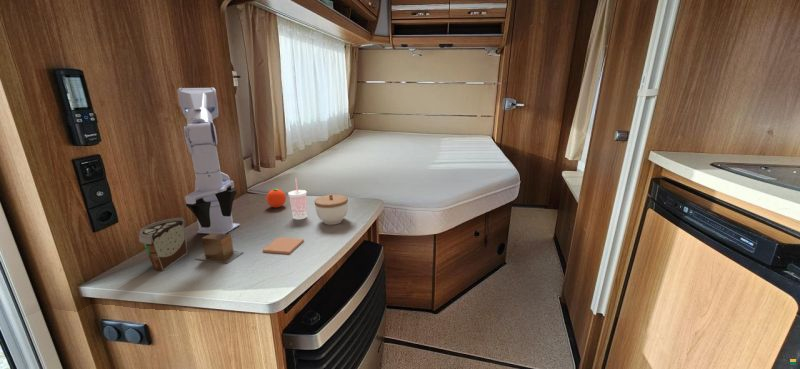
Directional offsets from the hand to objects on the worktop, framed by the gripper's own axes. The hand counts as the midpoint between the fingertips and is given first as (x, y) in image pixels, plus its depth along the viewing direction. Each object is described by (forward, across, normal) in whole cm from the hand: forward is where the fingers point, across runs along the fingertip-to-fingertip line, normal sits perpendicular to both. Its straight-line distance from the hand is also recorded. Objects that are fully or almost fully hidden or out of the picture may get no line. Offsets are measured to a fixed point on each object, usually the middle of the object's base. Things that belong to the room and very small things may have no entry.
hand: (216, 221), depth 87 cm
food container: (+10, -7, +12) cm, 17 cm away
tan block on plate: (+10, -2, 0) cm, 10 cm away
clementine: (+10, +37, +6) cm, 39 cm away
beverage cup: (+10, +28, -8) cm, 31 cm away
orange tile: (+9, +6, -10) cm, 15 cm away
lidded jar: (+10, +27, -21) cm, 35 cm away
